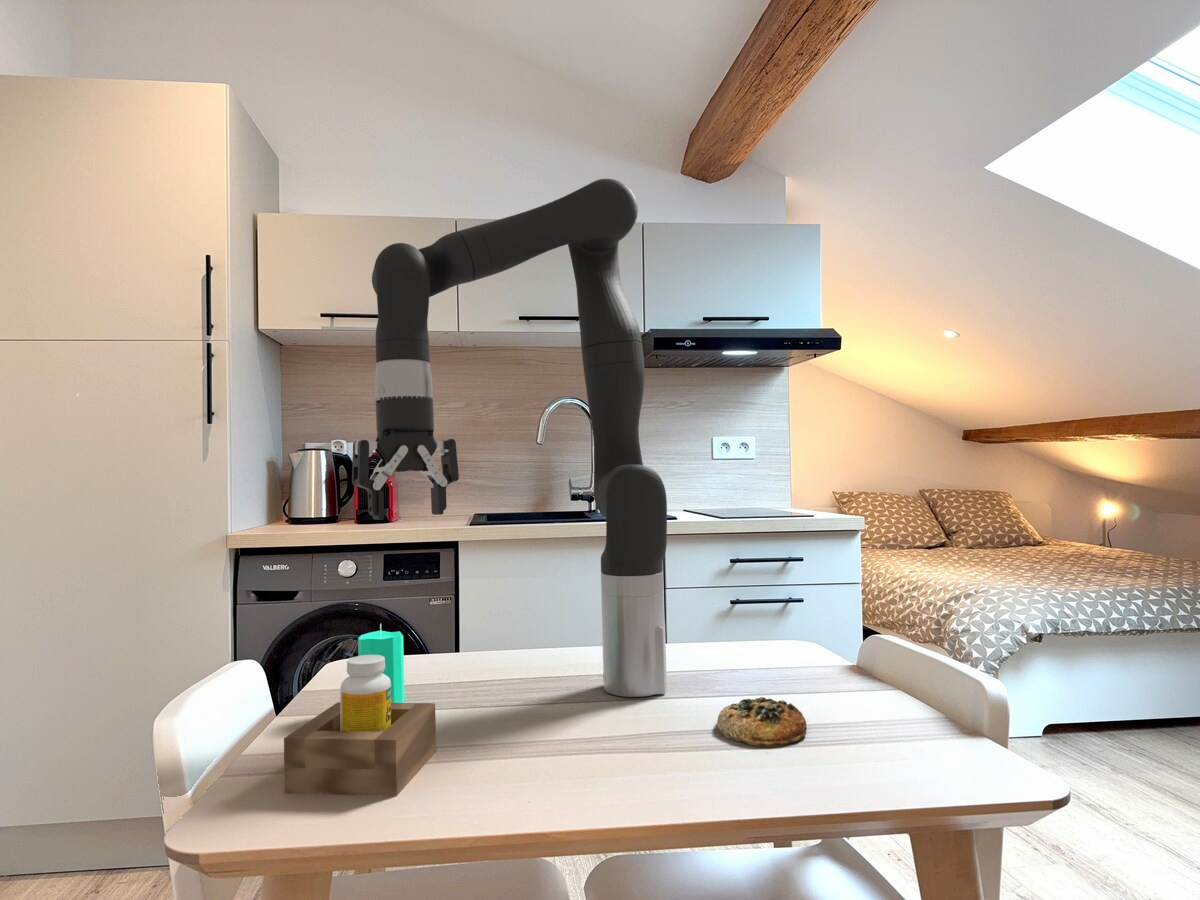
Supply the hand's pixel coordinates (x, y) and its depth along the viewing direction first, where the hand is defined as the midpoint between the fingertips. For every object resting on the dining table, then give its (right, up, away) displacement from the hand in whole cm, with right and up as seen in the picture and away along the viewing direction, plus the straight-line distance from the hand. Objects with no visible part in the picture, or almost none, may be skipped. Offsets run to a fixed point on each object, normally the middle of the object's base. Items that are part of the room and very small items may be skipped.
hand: (408, 516), depth 100 cm
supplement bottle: (0, -24, -18) cm, 30 cm away
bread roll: (+45, -26, -9) cm, 53 cm away
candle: (-4, -27, +3) cm, 28 cm away
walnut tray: (0, -27, -18) cm, 32 cm away
